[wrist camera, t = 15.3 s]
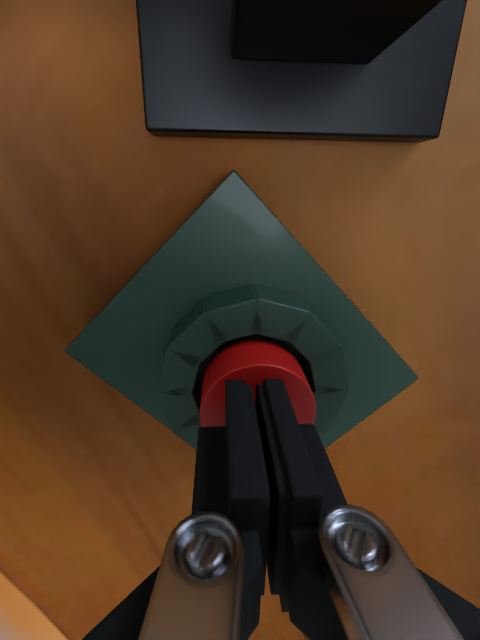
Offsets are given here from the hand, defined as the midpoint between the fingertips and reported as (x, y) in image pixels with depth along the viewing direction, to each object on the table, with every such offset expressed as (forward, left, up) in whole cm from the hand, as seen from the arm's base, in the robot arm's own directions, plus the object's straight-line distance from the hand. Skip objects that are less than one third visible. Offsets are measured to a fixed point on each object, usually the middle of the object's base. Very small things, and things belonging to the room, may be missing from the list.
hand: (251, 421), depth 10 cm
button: (0, 0, -2) cm, 2 cm away
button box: (0, 0, -6) cm, 6 cm away
